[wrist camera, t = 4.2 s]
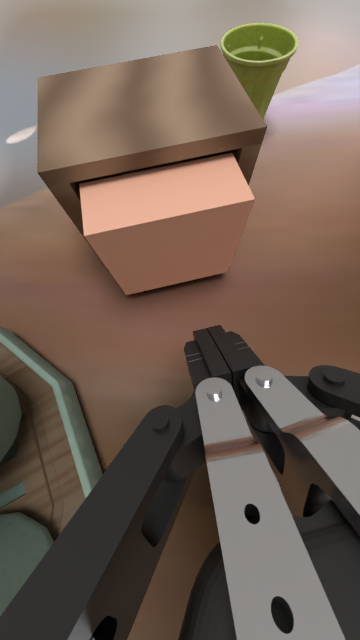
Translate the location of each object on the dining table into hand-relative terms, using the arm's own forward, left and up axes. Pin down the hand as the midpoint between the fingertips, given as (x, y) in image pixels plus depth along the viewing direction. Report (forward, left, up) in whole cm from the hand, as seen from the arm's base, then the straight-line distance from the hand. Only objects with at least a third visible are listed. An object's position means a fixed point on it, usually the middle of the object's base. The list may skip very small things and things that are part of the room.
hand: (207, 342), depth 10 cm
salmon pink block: (0, -14, -9) cm, 16 cm away
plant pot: (-17, -35, -10) cm, 41 cm away
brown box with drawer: (0, -19, -10) cm, 22 cm away
